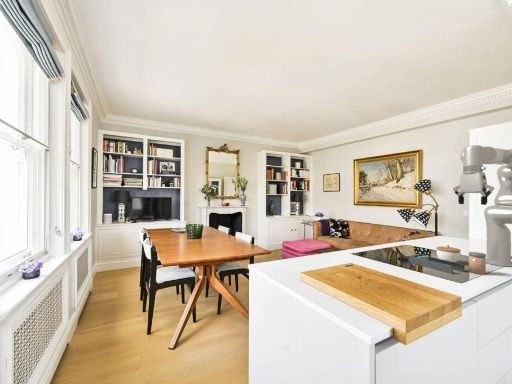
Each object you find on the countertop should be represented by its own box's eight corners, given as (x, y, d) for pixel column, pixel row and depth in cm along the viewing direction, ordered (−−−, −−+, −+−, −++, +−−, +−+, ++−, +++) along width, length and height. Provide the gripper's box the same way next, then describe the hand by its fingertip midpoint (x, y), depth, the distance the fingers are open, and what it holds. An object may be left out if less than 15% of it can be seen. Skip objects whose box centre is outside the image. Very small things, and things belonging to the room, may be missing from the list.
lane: (420, 260, 142) (420, 254, 142) (464, 271, 121) (464, 264, 121) (408, 262, 138) (408, 255, 138) (451, 273, 118) (451, 266, 118)
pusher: (426, 262, 137) (426, 255, 137) (428, 262, 136) (428, 256, 136) (417, 263, 134) (417, 256, 134) (419, 263, 133) (419, 257, 133)
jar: (473, 270, 124) (473, 251, 124) (488, 274, 118) (488, 254, 118) (465, 271, 122) (465, 252, 122) (481, 275, 116) (481, 255, 116)
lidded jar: (461, 266, 131) (461, 248, 131) (435, 262, 137) (435, 245, 137) (460, 262, 139) (460, 245, 139) (436, 258, 146) (436, 242, 146)
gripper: (498, 169, 120) (498, 205, 119) (458, 172, 136) (457, 204, 135) (489, 168, 117) (488, 204, 117) (449, 171, 133) (448, 203, 133)
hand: (472, 204), depth 126 cm, fingers open, 9 cm apart
